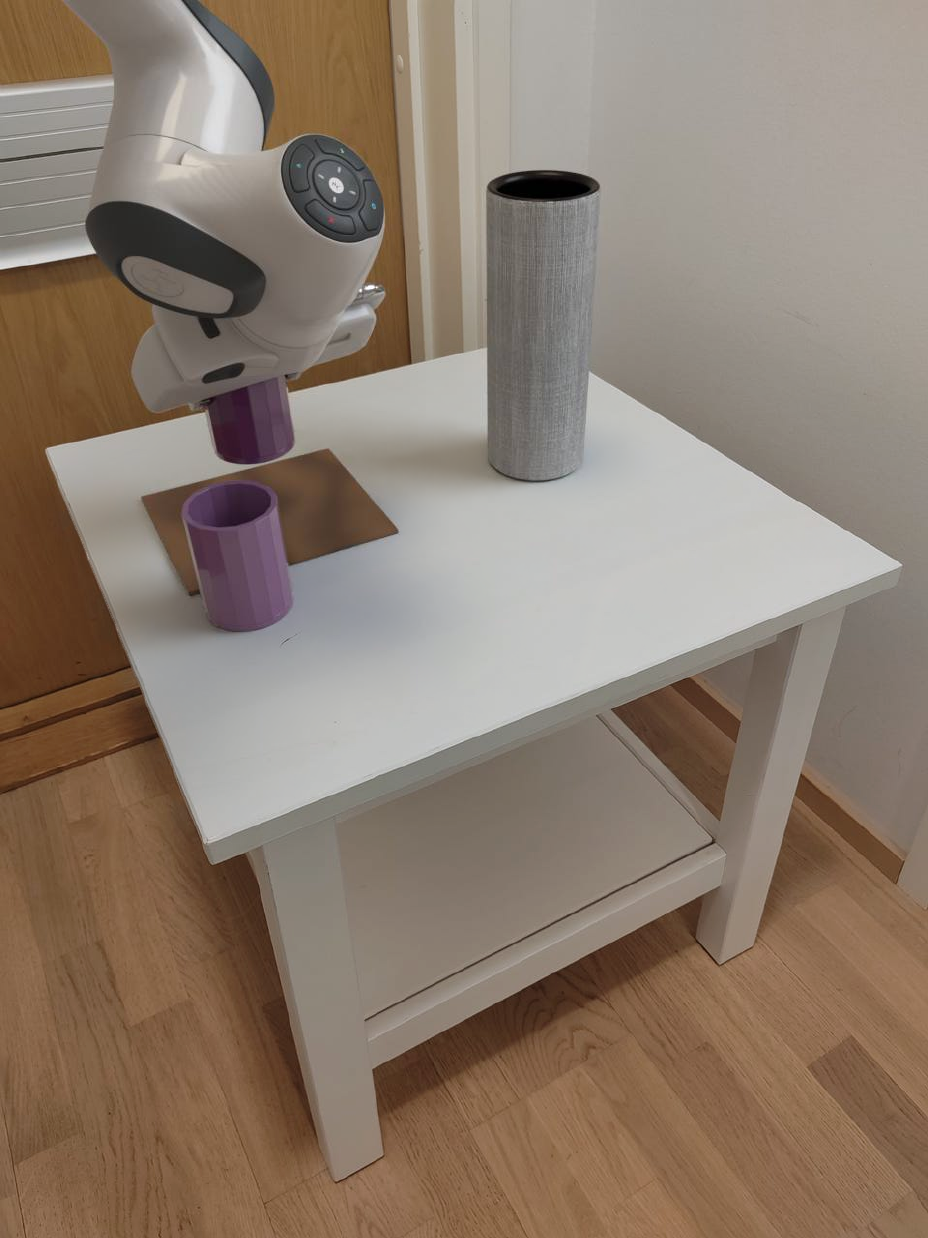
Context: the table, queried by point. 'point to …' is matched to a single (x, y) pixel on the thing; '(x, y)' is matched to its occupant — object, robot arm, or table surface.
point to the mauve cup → (239, 554)
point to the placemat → (285, 510)
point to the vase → (539, 319)
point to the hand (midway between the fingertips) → (241, 387)
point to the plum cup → (252, 422)
